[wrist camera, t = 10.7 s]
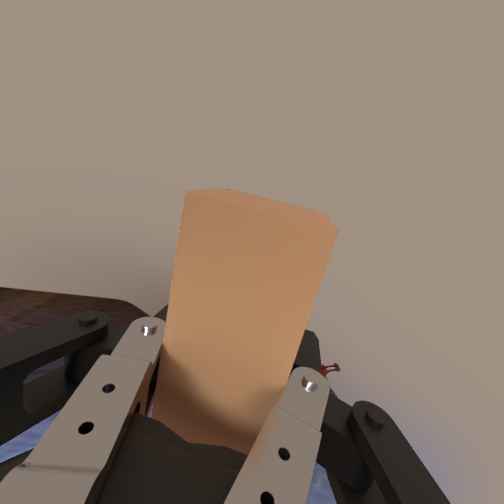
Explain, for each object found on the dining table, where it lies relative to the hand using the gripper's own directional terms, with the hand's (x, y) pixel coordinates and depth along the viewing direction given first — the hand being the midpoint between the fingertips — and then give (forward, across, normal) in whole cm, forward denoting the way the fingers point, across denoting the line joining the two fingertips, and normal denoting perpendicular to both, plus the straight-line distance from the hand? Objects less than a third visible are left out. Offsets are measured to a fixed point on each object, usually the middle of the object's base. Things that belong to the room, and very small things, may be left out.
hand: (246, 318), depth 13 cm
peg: (-3, 0, +9) cm, 9 cm away
